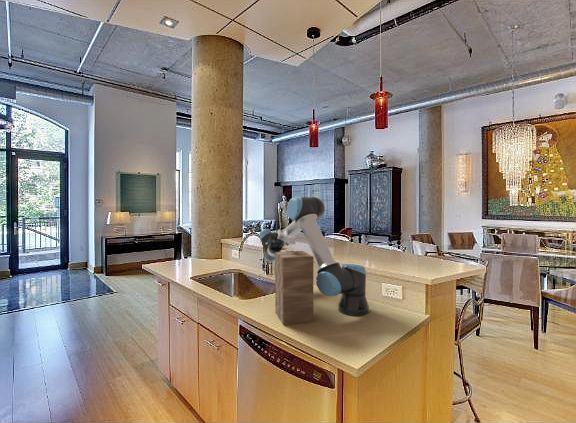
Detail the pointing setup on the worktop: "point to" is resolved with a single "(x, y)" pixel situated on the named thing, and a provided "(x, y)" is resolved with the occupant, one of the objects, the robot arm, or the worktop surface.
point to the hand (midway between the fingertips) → (283, 231)
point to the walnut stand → (294, 287)
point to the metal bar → (287, 238)
